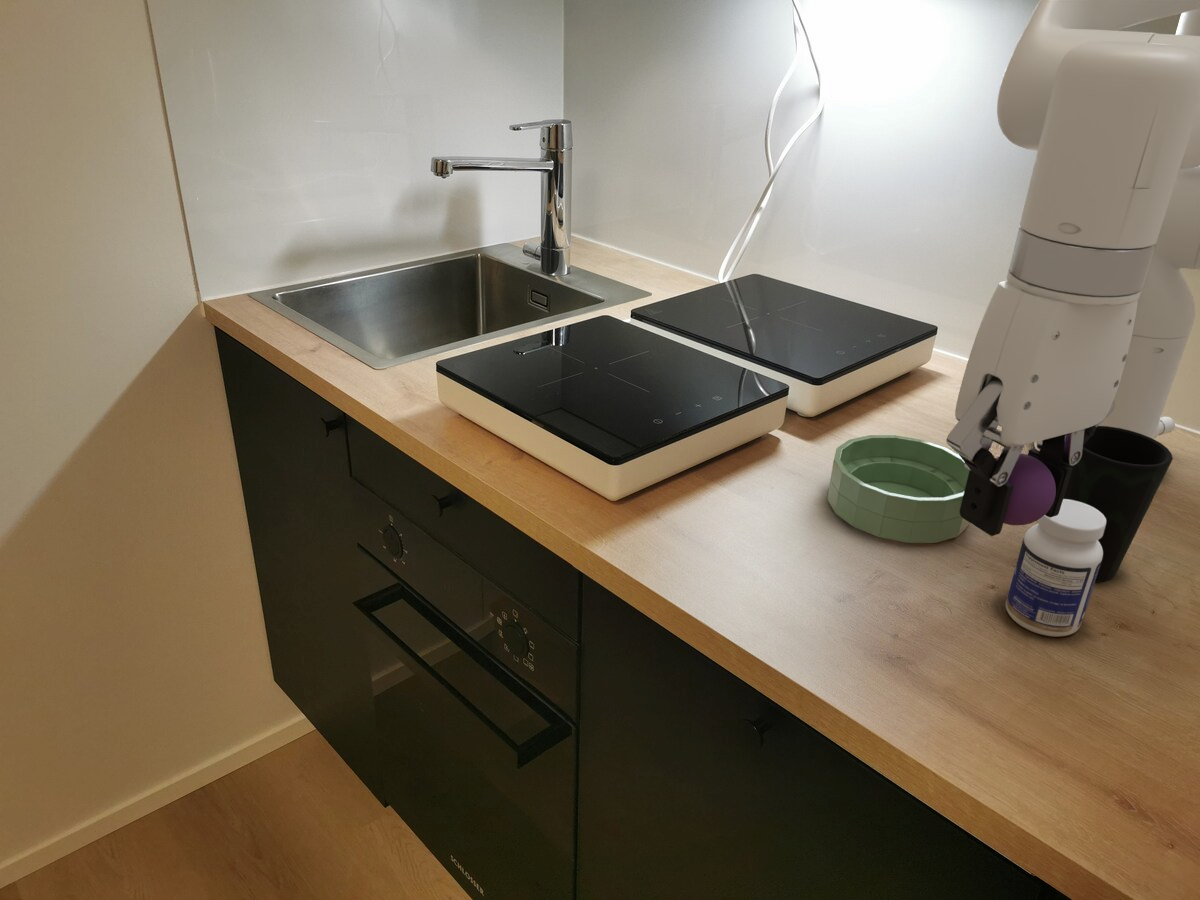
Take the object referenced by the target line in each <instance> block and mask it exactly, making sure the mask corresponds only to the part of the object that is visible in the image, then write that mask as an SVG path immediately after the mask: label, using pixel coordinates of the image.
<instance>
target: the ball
mask: <svg viewBox="0 0 1200 900" xmlns="http://www.w3.org/2000/svg"><path fill="white" fill-rule="evenodd" d="M999 457H1000V455H999V456H997V457H995V458H996V460H997V461H998V459H999ZM1007 482H1008V483H1010V484H1012V485H1013V490H1012V494H1011V497H1010V501H1009V504H1008V508H1007V512H1006V515H1005V519H1004V523H1003V525H1009V526H1025V525H1030V524H1032V523H1034V522H1037V520H1038V519H1040V518H1042V517H1043V516H1044V515H1045V514H1046V513H1047V512H1048V511H1049V510H1050V508H1051V506H1052V505H1053V502H1054V499H1055V495H1056V485H1055V481H1054V478H1053V475H1052V473H1051V472H1050V470H1049V469H1048V468H1047V467H1046V466H1045V465H1044V464H1043V463H1042V462H1041V461H1039V460H1038V459H1036V458H1034V457H1032V456H1029V455H1028V454H1025V453H1021V454H1020V456H1019V458H1018V460H1017V462H1016V464H1015V466H1014V468H1013V471H1012V473H1011V475H1010V477H1009V479H1008V481H1007Z"/></svg>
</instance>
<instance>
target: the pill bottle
mask: <svg viewBox="0 0 1200 900" xmlns="http://www.w3.org/2000/svg"><path fill="white" fill-rule="evenodd" d="M1036 522H1037V523H1036V524H1034V525H1033V526H1030V528H1028V529H1027V530H1026V532H1025V534H1024V536H1023V539H1022V542H1021V545H1020V550H1019V554H1018V557H1017V560H1016V564H1015V567H1014V572H1013V575H1012V579H1011V582H1010V586H1009V589H1008V593H1007V596H1006V600H1005V610H1006V611H1007V614H1008V615H1009V617H1010V618H1011V619H1012V620H1013V621H1014V622H1016V624H1018V625H1019V626H1021V627H1022V628H1023V629H1025V630H1028V631H1030V632H1032V633H1035V634H1037V635H1038V634H1039V635H1042V636H1047V637H1067V636H1070V635H1072V634H1074V633H1076V632H1077V631H1078V630H1079V629H1080V627H1081V626H1082V623H1083V620H1084V617H1085V614H1086V611H1087V608H1088V605H1089V602H1090V599H1091V595H1092V593H1093V589H1094V586H1095V583H1096V582H1095V580H1096V577H1097V574H1098V571H1099V568H1100V565H1101V561H1102V557H1103V549H1102V546H1101V544H1100V543H1099V541H1098V540H1099V539H1100V538H1101V537H1102V536H1103V533H1104V529H1105V526H1106V518H1105V516H1104V515H1103V514H1102V513H1101V512H1100V511H1098V510H1097V509H1095V508H1094V507H1092V506H1090V505H1087V504H1085V503H1082V502H1078V501H1074V500H1069V499H1063V501H1062V505H1061V508H1060V511H1059V514H1058V515H1057V516H1054V517H1047V516H1046V515H1044V516H1043V517H1042V518H1040V519H1038V520H1037V521H1036Z"/></svg>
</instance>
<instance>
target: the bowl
mask: <svg viewBox="0 0 1200 900" xmlns="http://www.w3.org/2000/svg"><path fill="white" fill-rule="evenodd" d="M964 463H965V462H964V461H963V459H962V458H961V457H960V455H959V454H958V453H957V452H955V451H954V450H953V451H952V450H950V449H949V448H947V447H945V446H942V445H939V444H935V443H933V442H929V441H927V440H923V439H920V438H914V437H908V436H902V435H895V434H872V435H871V434H868V435H864V436H860V437H854V438H850V439H848V440H846V441H844V443H842V444H840V445H839V446H838V447H836V449H835V453H834V457H833V462H832V467H831V468H832V469H831V473H830V474H831V475H830V480H829V485H828V492H827V496H826V500H827V501H828V503H829V505H830V507H831V509H832V511H833V512H834V513H835V515H837V516H838V517H840V519H842V520H844V521H845V522H846V523H847V524H849V525H851V526H852V527H854V528H855V529H857V530H860V531H863V532H865V533H867V534H870V535H872V536H875V537H877V538H882V539H887V540H891V541H896V542H903V543H907V544H908V543H909V544H929V543H930V544H932V543H933V544H934V543H935V544H936V543H940V542H943V541H947V540H950V539H951V540H952V539H954V538H957V537H959V536H960V535H961V534H962V533H963V532H964V531H965V530H966V529H967V528H968V527H969V525H970V522H968V521H967V520H965V519H963V518H962V517H961V516H960V512H959V511H960V507H961V503H962V499H963V495H964V491H965V486H966V482H967V478H968V474H969V470H968V469H967V468H965V465H964Z"/></svg>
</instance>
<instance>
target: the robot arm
mask: <svg viewBox="0 0 1200 900" xmlns="http://www.w3.org/2000/svg"><path fill="white" fill-rule="evenodd" d="M1176 15H1177V16H1178V15H1180V17H1179V21H1178V25H1177V28H1176V31H1175V34H1171V33H1169V34H1168V33H1157V32H1147V31H1131V30H1130V31H1127V30H1123V29H1125V28H1129V27H1132V26H1135V25H1139V24H1143V23H1146V22H1151V21H1155V20H1159V19H1163V18H1169V17H1172V16H1176ZM996 115H997V122H998V126H999V128H1000V130H1001V132H1002V135H1004V137H1005V138H1006V139H1007V140H1008V141H1009V142H1010V143H1012V144H1013V145H1015V146H1017V147H1020V148H1022V149H1026V150H1031V151H1036V155H1035V160H1034V164H1033V167H1032V172H1031V176H1030V181H1029V184H1028V188H1027V193H1026V197H1025V201H1024V205H1023V210H1022V214H1021V217H1020V222H1019V225H1018V229H1017V233H1016V237H1015V241H1014V245H1013V250H1012V253H1011V258H1010V263H1009V267H1008V270H1007V275H1006V280H1003V281H1000V282H999V283H998V284H997V286H996V288H995V290H994V292H993V294H992V296H991V298H990V300H989V302H988V305H987V307H986V310H985V312H984V314H983V317H982V320H981V322H980V323H979V327H978V330H977V332H976V335H975V338H974V341H973V344H972V347H971V350H970V353H969V356H968V360H967V363H966V366H965V370H964V373H963V376H962V380H961V383H960V388H959V392H958V394H957V400H956V404H955V412H954V417H955V419H956V420H957V423H956V424H955V426H954V427H953V428H952V429H951V430H950V432H949V433H948V435H947V436H946V440H945V441H946V444H947V445H948V446H949V447H950V448H951V449H953V451H954V452H955V453H956V454H958V455H960V457H961V458H962V459H963V461H964V462H965V463H964V465H965V468H967V469H968V470H969V474H968V478H967V482H966V486H965V491H964V495H963V499H962V503H961V507H960V511H959V512H960V516H961V517H962V518H963V519H965V520H967V521H968V522H969V524H971V525H973V526H974V527H976V528H978V529H979V530H981V531H982V532H984V533H986V534H987V535H988V536H990V537H994V536H997V535H1000V534H1001V532H1002V530H1003V526H1004V519H1005V515H1006V512H1007V508H1008V504H1009V501H1010V497H1011V494H1012V490H1013V485H1012V484H1010V483H1008V482H1007V481H1008V479H1009V477H1010V475H1011V473H1012V471H1013V468H1014V466H1015V464H1016V462H1017V460H1018V458H1019V456H1020V454H1022V451H1023V449H1024V448H1025V445H1028V444H1029V445H1030V444H1032V443H1033V445H1034V448H1031V449H1028V452H1027V455H1029V456H1032V457H1034V458H1036V459H1038V460H1039V461H1041V462H1042V463H1043V464H1044V465H1045V466H1046V467H1047V468H1048V469H1049V470H1050V472H1051V473H1052V475H1053V478H1054V481H1055V485H1056V495H1055V499H1054V502H1053V505H1052V506H1051V508H1050V510H1049V511H1048V512H1047V513H1046V514H1045V515H1046V516H1047V517H1054V516H1057V515H1058V514H1059V511H1060V508H1061V505H1062V501H1063V498H1064V495H1065V491H1066V488H1067V485H1068V482H1069V478H1070V475H1071V472H1072V469H1073V468H1071V467H1069V466H1068V465H1071V466H1073V465H1075V464H1077V463H1078V462H1079V460H1080V459H1081V457H1082V450H1083V445H1084V444H1085V443H1086V442H1087V441H1088V439H1089V438H1090V437H1091V436H1092V435H1093V433H1094V432H1095V429H1096V427H1097V426H1109V427H1116V428H1122V429H1126V430H1130V431H1133V432H1137V433H1140V434H1143V435H1145V436H1148V437H1150V438H1152V439H1154V440H1156V438H1157V437H1158V436H1161V435H1166V434H1169V433H1172V432H1174V430H1175V427H1176V424H1175V421H1174V419H1173V418H1172V417H1170V416H1168V415H1167V416H1165V415H1164V416H1162V415H1163V412H1164V409H1165V406H1166V403H1167V400H1168V398H1169V394H1170V392H1171V389H1172V386H1173V383H1174V380H1175V377H1176V374H1177V372H1178V368H1179V365H1180V364H1181V360H1182V357H1183V354H1184V351H1185V349H1186V346H1187V343H1188V340H1189V338H1190V334H1191V332H1192V328H1193V326H1194V323H1195V318H1196V303H1195V299H1194V296H1193V293H1192V291H1191V289H1190V286H1189V285H1188V282H1187V281H1186V279H1185V277H1184V275H1183V274H1182V270H1181V269H1187V270H1199V271H1200V0H1039V1H1038V2H1037V4H1036V6H1035V8H1034V10H1033V12H1032V14H1031V15H1030V18H1029V20H1028V22H1027V24H1026V25H1025V26H1024V29H1023V31H1022V33H1021V34H1020V37H1019V39H1018V41H1017V42H1016V45H1015V47H1014V49H1013V51H1012V53H1011V55H1010V58H1009V61H1008V62H1007V65H1006V67H1005V70H1004V73H1003V75H1002V79H1001V82H1000V85H999V91H998V94H997V102H996ZM998 427H1001V430H1000V429H998ZM993 442H994V443H996V444H997V445H999V446H1001V447H1003V448H1002V450H1001V452H1000V454H999V456H1000V457H999V456H998V457H999V459H998V461H997V460H996V458H997V457H995V456H994V454H993V453H992V451H990V449H991V447H992V444H993Z"/></svg>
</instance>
